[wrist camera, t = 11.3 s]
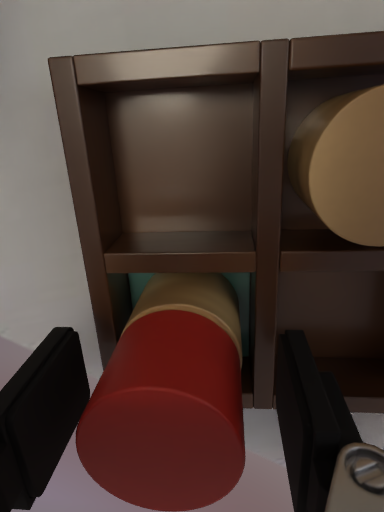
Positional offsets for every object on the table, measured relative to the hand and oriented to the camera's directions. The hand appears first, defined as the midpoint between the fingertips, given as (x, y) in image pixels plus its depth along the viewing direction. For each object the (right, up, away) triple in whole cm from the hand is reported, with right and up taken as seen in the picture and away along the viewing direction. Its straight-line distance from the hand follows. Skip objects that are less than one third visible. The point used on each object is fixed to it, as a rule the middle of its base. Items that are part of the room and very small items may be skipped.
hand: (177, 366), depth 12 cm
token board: (+3, +5, +3) cm, 6 cm away
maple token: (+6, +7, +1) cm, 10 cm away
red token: (0, 0, 0) cm, 0 cm away
